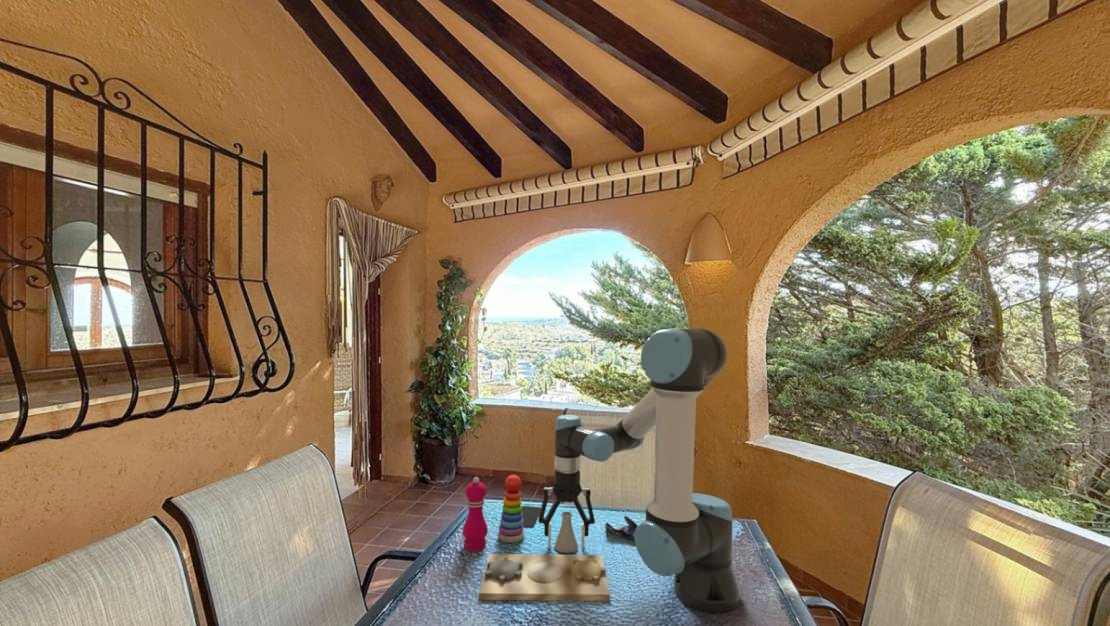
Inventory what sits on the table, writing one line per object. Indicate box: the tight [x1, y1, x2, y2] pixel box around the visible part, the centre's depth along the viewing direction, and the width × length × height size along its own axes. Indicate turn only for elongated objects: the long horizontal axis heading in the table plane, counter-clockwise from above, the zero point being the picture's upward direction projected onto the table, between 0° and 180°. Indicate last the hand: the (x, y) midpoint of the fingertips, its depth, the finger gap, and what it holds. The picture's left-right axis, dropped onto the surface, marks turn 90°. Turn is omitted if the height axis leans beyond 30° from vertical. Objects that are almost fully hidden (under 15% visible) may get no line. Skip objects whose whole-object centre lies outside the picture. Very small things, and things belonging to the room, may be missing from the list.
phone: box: [522, 505, 541, 529], centre depth 153 cm, size 7×1×15 cm
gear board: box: [478, 553, 611, 602], centre depth 116 cm, size 31×18×3 cm, turn 90°
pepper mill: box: [462, 476, 489, 552], centre depth 133 cm, size 7×7×20 cm
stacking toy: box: [497, 474, 525, 544], centre depth 138 cm, size 8×8×19 cm
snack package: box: [604, 515, 638, 540], centre depth 141 cm, size 12×6×12 cm
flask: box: [554, 510, 579, 554], centre depth 132 cm, size 7×7×10 cm
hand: (566, 546), depth 132 cm, fingers open, 9 cm apart
